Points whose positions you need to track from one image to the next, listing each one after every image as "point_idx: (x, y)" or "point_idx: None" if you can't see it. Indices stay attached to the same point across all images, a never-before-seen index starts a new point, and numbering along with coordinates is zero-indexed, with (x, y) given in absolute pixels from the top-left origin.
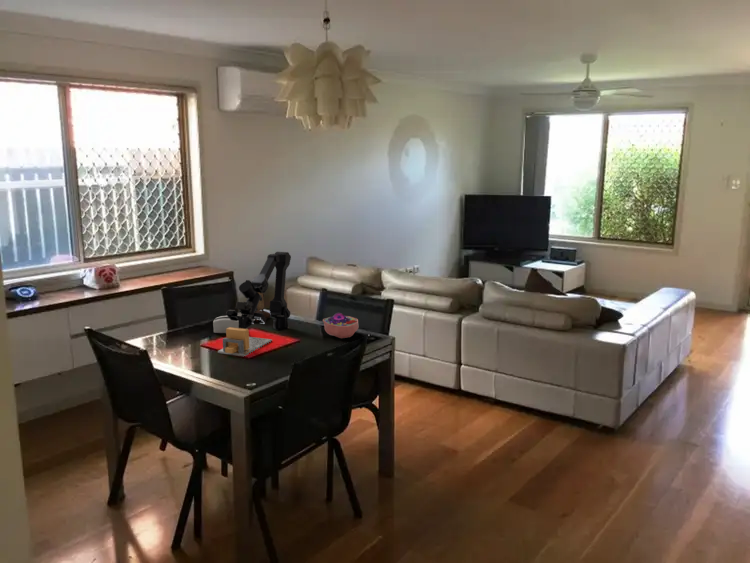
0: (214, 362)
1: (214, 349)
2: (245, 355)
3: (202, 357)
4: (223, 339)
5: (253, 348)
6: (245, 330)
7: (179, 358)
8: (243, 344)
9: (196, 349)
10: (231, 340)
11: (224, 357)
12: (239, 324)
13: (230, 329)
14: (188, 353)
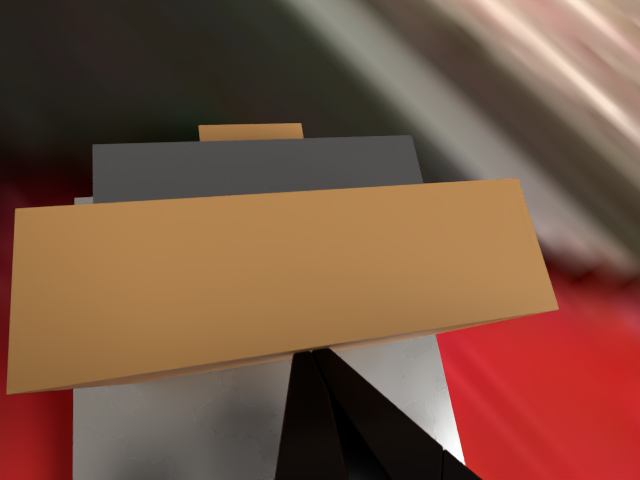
0: (245, 3)
1: None
2: None
3: (413, 64)
4: (395, 141)
5: (97, 430)
6: (25, 250)
7: (520, 5)
8: None
9: (600, 193)
10: (267, 143)
11: (257, 119)
12: (433, 466)
13: (422, 185)
14: (563, 100)
